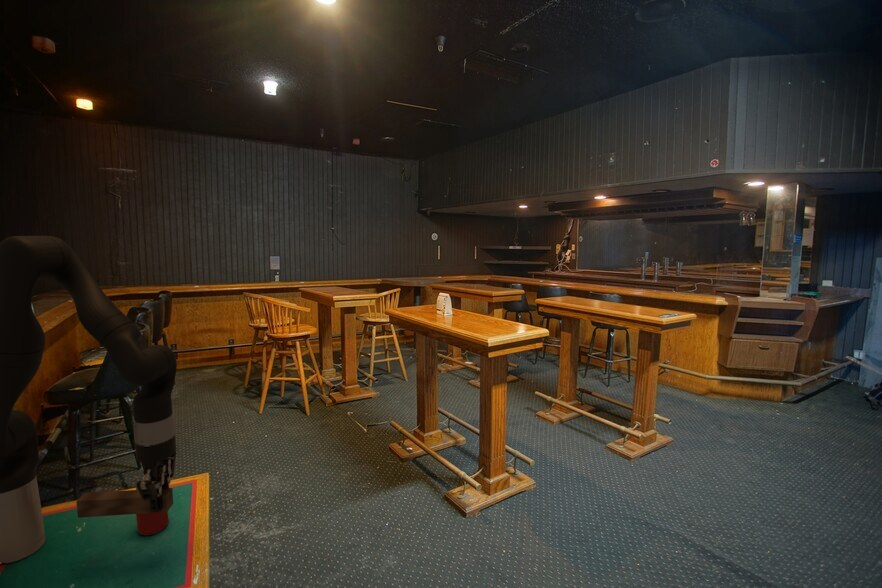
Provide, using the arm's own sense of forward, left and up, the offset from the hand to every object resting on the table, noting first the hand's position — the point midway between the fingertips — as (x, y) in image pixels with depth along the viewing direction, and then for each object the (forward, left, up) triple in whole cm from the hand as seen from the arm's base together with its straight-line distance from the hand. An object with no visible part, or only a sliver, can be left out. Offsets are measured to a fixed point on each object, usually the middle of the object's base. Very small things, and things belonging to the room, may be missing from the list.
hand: (160, 505), depth 98 cm
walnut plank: (-7, 0, -1) cm, 7 cm away
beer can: (-7, +10, -13) cm, 18 cm away
